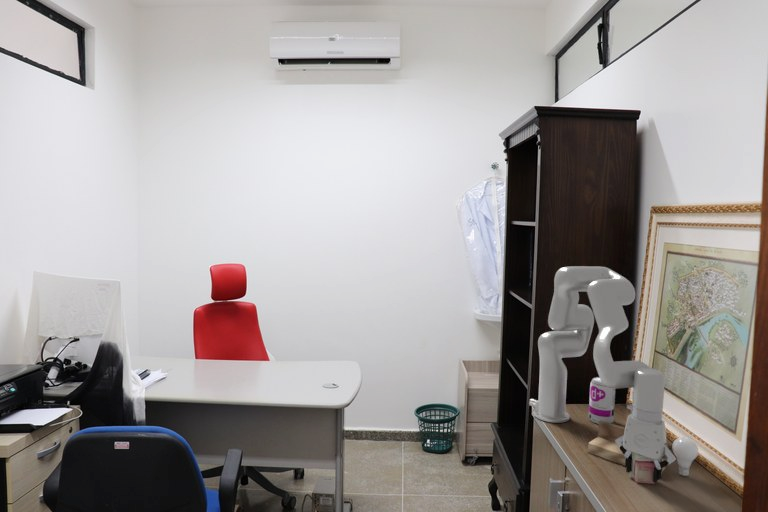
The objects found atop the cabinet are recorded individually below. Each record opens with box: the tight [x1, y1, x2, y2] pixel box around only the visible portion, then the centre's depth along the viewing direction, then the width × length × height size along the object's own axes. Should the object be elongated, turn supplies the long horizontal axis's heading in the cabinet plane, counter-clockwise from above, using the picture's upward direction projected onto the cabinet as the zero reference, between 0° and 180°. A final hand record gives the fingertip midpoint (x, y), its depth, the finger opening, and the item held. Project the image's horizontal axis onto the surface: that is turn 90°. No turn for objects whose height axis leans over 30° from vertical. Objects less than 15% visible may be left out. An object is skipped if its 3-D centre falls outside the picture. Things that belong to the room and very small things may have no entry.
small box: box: [630, 453, 656, 485], centre depth 142 cm, size 5×4×8 cm
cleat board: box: [587, 420, 670, 473], centre depth 154 cm, size 20×8×8 cm, turn 44°
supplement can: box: [588, 376, 616, 425], centre depth 183 cm, size 8×8×15 cm
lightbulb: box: [671, 436, 699, 477], centre depth 145 cm, size 6×6×11 cm
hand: (642, 475), depth 142 cm, fingers closed on small box, 6 cm apart
